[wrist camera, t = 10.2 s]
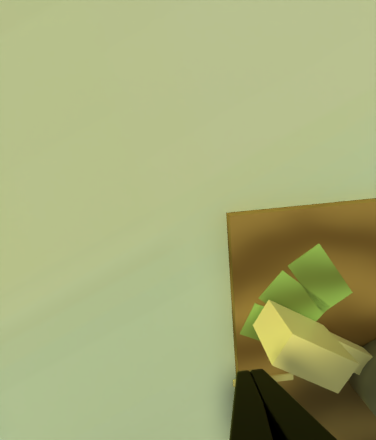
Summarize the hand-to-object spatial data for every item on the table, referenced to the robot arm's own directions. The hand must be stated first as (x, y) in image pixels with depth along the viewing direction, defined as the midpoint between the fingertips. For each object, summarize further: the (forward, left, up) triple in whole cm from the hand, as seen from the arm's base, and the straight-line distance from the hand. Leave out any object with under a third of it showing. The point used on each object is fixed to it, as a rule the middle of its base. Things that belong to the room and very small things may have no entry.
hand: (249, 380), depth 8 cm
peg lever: (-9, -10, -11) cm, 17 cm away
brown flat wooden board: (-8, -12, -12) cm, 19 cm away
